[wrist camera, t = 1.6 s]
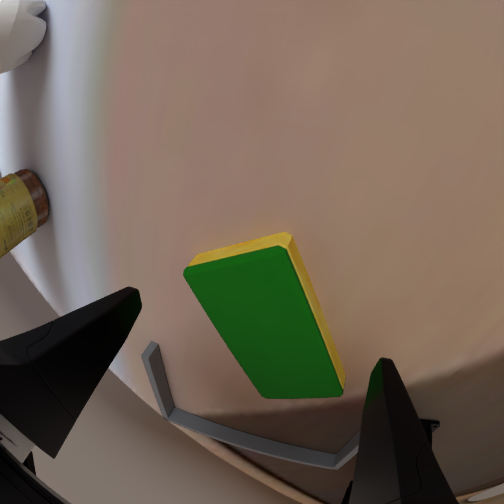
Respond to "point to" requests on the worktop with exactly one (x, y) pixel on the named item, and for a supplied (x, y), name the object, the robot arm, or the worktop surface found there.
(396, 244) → the worktop surface
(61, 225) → the worktop surface
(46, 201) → the sauce bottle
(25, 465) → the robot arm
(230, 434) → the box
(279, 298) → the dish sponge
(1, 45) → the water bottle
